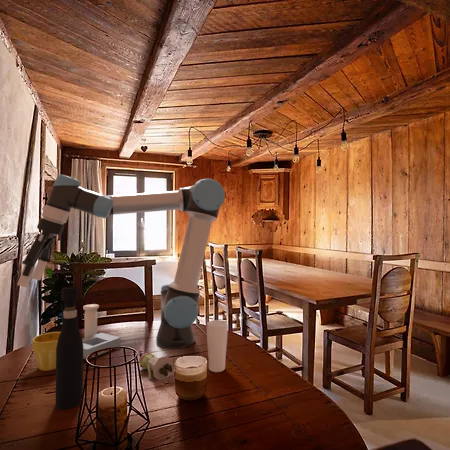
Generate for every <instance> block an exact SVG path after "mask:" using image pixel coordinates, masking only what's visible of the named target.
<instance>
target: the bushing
mask: <svg viewBox="0 0 450 450" xmlns="http://www.w3.org/2000/svg"><path fill="white" fill-rule="evenodd" d="M82 307H83V308H82V309H83V310H84V338H87V337H90V336H93V335H96V334H98V309H99V307H100V305H99V304H96V303H92V304H86V305H83V306H82Z"/></svg>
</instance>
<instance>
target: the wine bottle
mask: <svg viewBox="0 0 450 450" xmlns="http://www.w3.org/2000/svg"><path fill="white" fill-rule="evenodd" d="M79 289H80V288H79V286H76V285H75V286H72V285H70V286H65V287H62V288H61V302H64V310H63V312H62V313H63V315H62V319H61V331H60V332H61V333H60V335H59V338H58V342H57V347H56V369H55V408H56V409H59V410H63V411H65V410H70V409H74V408H76V407H78V406H80V405H81V404H82V403H81V399H82V395H83V396H84V359H83V341H82V339H83V336H82V334H81V332H80V328H79V316H78V310H77V305H76V304H77V303H76V301H79V292H80V291H79ZM80 403H81V404H80Z"/></svg>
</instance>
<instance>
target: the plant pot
mask: <svg viewBox="0 0 450 450" xmlns="http://www.w3.org/2000/svg"><path fill="white" fill-rule="evenodd" d="M60 333H61V331H51V332H47V333H42V334H39V335H36V336H35V337H33V338H32V345H31V346H32V351H33V352H34V353H35V358H36V361H37V365H38V369H39V370H40V371H43V372H44V371H45V372H49V371H52V370H56V347H57V342H58V338H59V335H60Z"/></svg>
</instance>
